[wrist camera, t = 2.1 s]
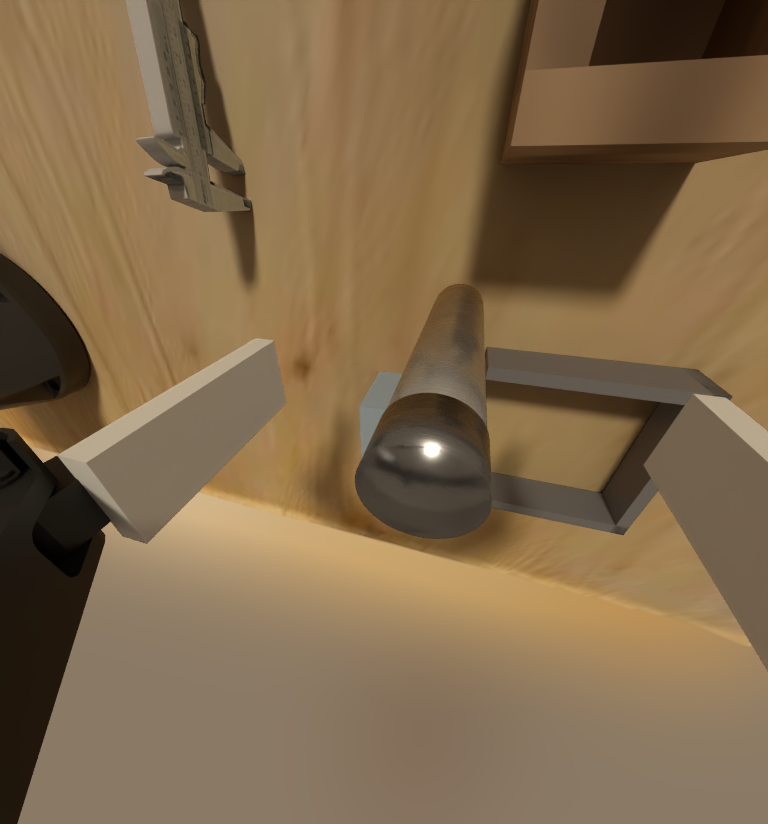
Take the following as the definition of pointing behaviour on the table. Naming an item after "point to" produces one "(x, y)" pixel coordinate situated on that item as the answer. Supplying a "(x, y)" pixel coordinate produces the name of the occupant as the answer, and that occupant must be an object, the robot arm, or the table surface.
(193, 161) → the caliper
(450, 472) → the cylinder
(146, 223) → the table surface
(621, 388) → the corral
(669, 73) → the bore block
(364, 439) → the block
